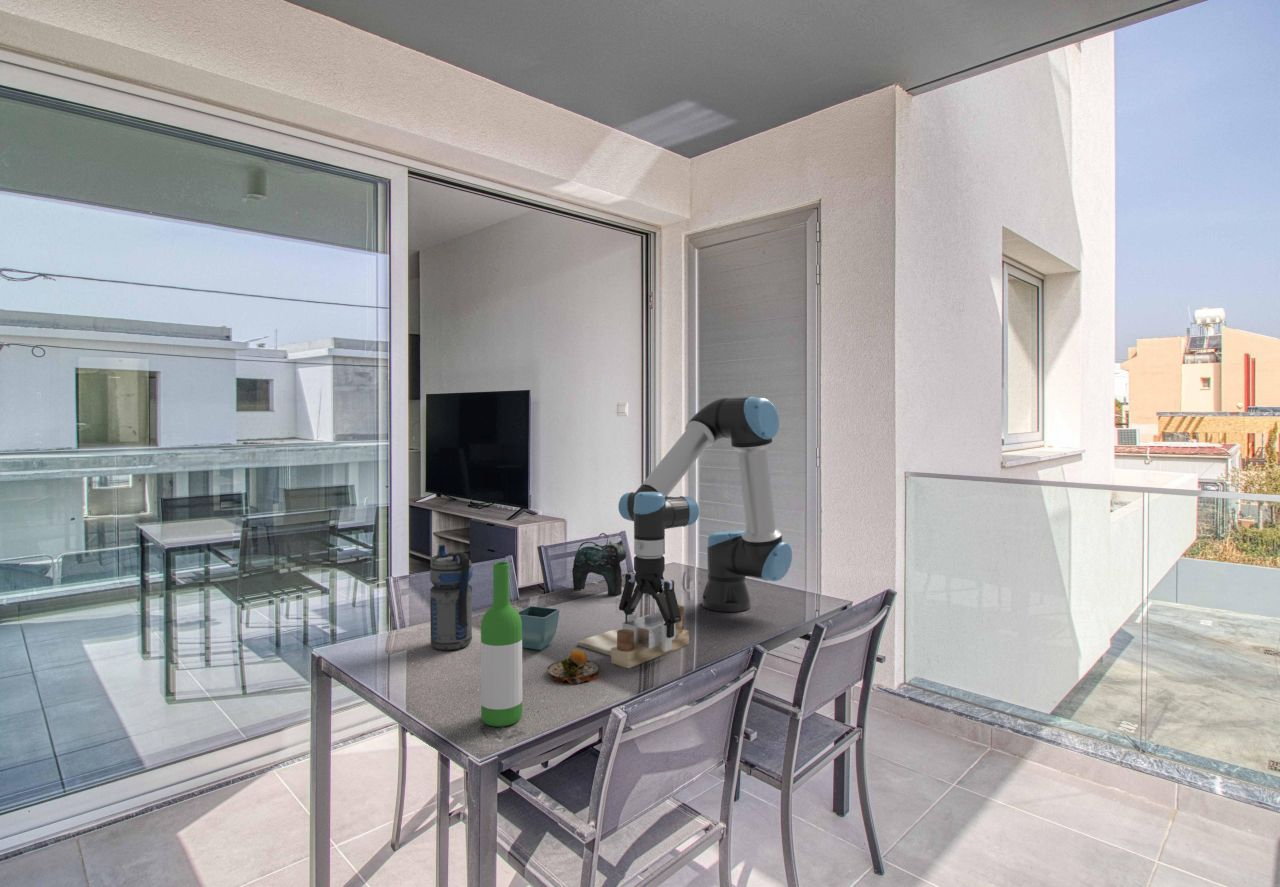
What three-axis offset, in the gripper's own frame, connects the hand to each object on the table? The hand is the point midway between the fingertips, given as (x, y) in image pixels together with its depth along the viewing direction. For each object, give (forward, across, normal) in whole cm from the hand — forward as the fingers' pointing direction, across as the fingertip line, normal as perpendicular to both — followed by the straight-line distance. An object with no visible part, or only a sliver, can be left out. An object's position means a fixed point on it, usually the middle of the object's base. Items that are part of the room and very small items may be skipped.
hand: (649, 645), depth 166 cm
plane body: (+2, 0, +1) cm, 2 cm away
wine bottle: (+2, +3, -46) cm, 47 cm away
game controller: (+3, -53, +35) cm, 63 cm away
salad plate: (+3, -4, -22) cm, 22 cm away
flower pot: (+3, -25, -14) cm, 29 cm away
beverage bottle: (+2, -41, -28) cm, 50 cm away
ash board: (+2, -12, 0) cm, 12 cm away
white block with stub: (-1, 0, 0) cm, 1 cm away
